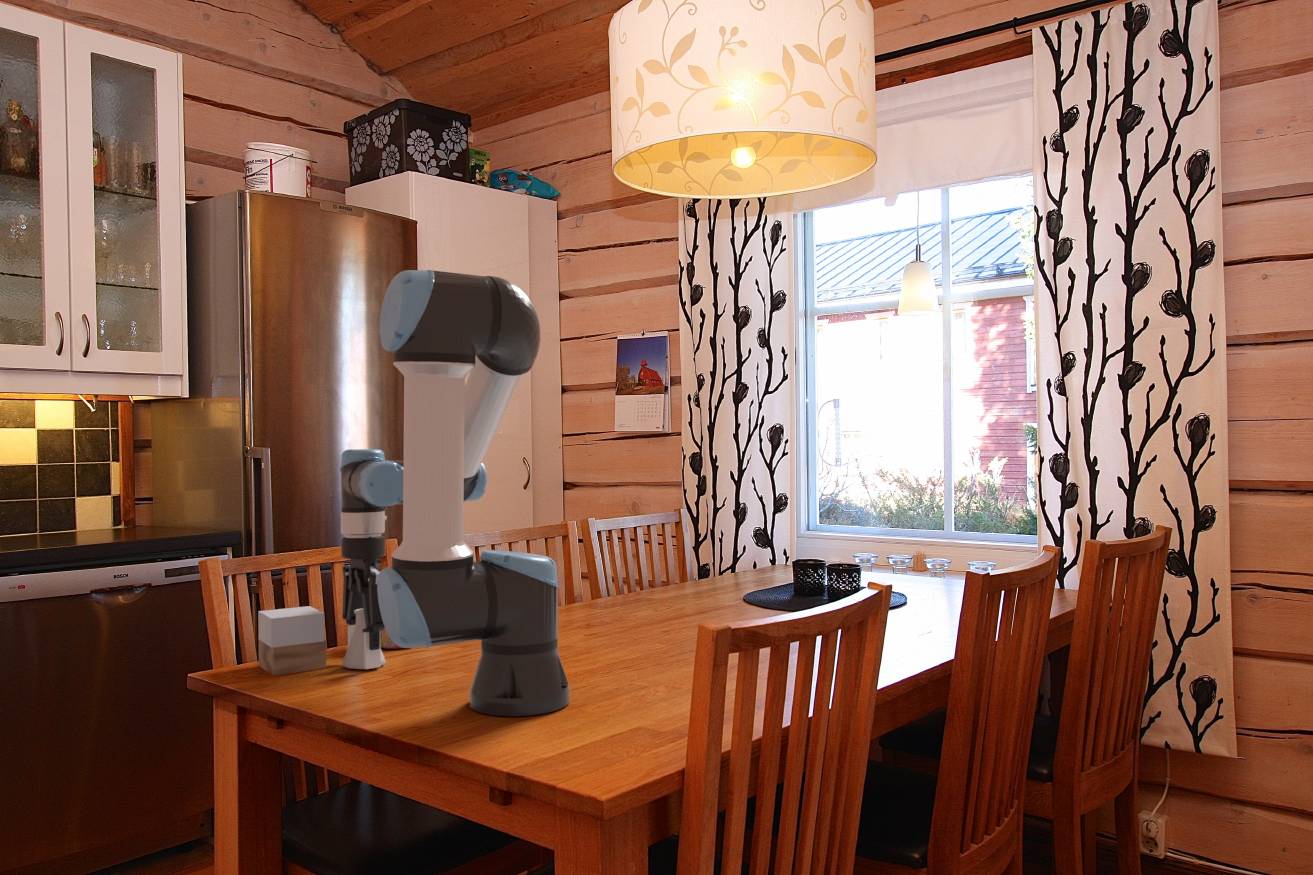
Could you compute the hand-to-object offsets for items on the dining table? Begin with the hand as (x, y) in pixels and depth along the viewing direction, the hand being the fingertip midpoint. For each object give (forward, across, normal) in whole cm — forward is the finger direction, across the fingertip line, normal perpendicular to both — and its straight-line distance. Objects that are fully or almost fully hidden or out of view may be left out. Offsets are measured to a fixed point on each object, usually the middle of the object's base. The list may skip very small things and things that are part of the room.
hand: (364, 663), depth 175 cm
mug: (+1, +13, -13) cm, 18 cm away
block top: (-4, +8, +10) cm, 14 cm away
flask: (+1, 0, 0) cm, 1 cm away
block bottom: (+1, +8, +10) cm, 13 cm away
